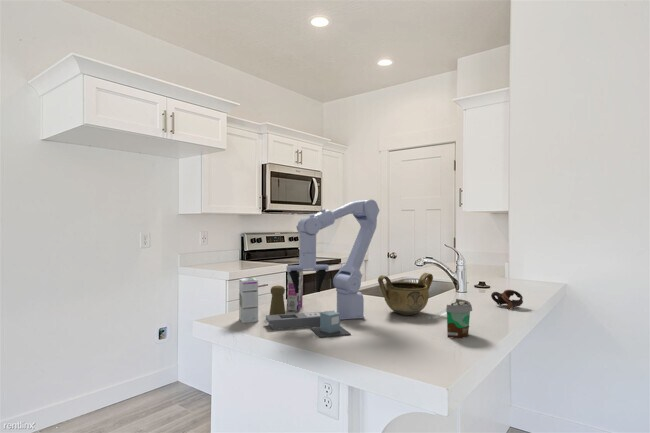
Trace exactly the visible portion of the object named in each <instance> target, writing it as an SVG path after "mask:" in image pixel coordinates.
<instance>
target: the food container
mask: <svg viewBox="0 0 650 433" xmlns="http://www.w3.org/2000/svg"><path fill="white" fill-rule="evenodd" d="M445 312H446V325H447V326H446V328H447V329H446V330H447V332H446V333H447V338H449V337H454V338H453V339H464V338H463V337H465V338H468V337H469V331H470V330H469V329H470V317H471V316H470V315H471V312H473V306H472V304H471V302H470V301H469V300H465V299H462V298H461V299H460V298H456V299H455V302H452V303H450V304H446V310H445Z"/></svg>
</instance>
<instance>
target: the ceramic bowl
mask: <svg viewBox="0 0 650 433" xmlns="http://www.w3.org/2000/svg"><path fill="white" fill-rule="evenodd" d="M384 280H385V282H386V283H385V284H384ZM433 280H434V276H433V274H432V273H429V272H423V273H422V274H421V275H420V277H419V279H418V282H412V281H391V278H389V277H388V276H387V275H383V274H382V275H381V274H380V275H379V277H378V278H377V283H378V285H379V288H380V290H381V292H382V295H383V298H384V301H385V303H386V305H387V306H388V307H389V309H390V310H392V311H393V312H395V313H397V314H398V315H403V316H411V315H415V314H417V313H420V312H421V311H422V310H424V309H425V307H426V306H427V304H428V301H429V290H430V288H431V285H432V283H433Z"/></svg>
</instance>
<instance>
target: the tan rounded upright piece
mask: <svg viewBox="0 0 650 433" xmlns="http://www.w3.org/2000/svg"><path fill="white" fill-rule="evenodd" d="M285 292H286V289H285V287H284V286H282V285H274V286H271V288H270V294H271V301H270V308H269V314H268V315H280V314H286V308H285V307H286V306H285V300H284V299H285V298H284V295H285Z"/></svg>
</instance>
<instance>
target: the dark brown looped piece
mask: <svg viewBox="0 0 650 433" xmlns="http://www.w3.org/2000/svg"><path fill="white" fill-rule="evenodd" d="M514 295H515V296H516V297H517V298H518V299H510V298H511V296H512V297H513V296H514ZM490 297H491V299H492V300H493V302H494V303H496V304H497V306H498V305H499V306H502V305H506V307H505V308H506V309H507V310H509V309H510V310H512V308H517V307H520V306H522V305H523V303H524V301H523V300H524V298H523V296H522V294H521V293H520V292H518V291H516V290H513V289H505V290H504V291H503V292H502V293H501V292H499V291H493V292H491V295H490Z"/></svg>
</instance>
